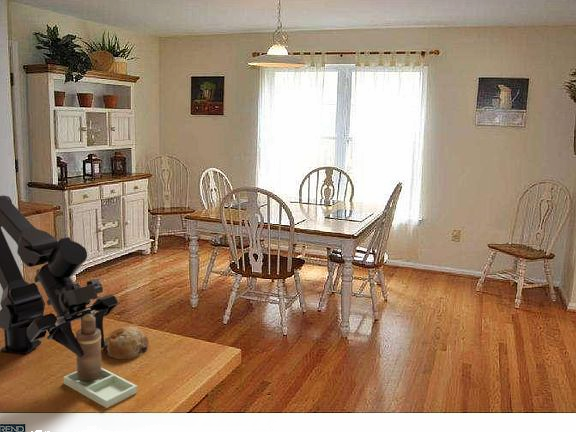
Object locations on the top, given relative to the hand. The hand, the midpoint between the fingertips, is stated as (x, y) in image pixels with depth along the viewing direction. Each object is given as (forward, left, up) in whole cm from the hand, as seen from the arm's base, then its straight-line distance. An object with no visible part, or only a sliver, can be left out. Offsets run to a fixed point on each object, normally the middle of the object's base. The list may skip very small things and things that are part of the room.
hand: (92, 351), depth 109 cm
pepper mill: (-1, +1, -6) cm, 6 cm away
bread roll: (0, +16, -8) cm, 18 cm away
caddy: (+2, -1, -8) cm, 8 cm away
